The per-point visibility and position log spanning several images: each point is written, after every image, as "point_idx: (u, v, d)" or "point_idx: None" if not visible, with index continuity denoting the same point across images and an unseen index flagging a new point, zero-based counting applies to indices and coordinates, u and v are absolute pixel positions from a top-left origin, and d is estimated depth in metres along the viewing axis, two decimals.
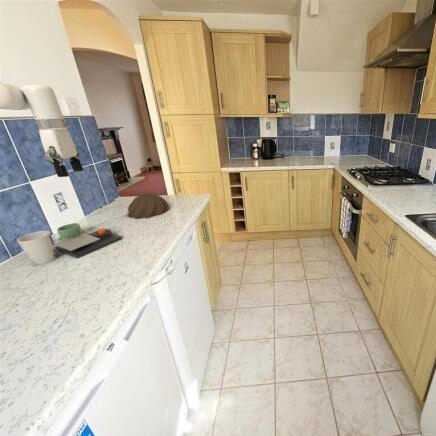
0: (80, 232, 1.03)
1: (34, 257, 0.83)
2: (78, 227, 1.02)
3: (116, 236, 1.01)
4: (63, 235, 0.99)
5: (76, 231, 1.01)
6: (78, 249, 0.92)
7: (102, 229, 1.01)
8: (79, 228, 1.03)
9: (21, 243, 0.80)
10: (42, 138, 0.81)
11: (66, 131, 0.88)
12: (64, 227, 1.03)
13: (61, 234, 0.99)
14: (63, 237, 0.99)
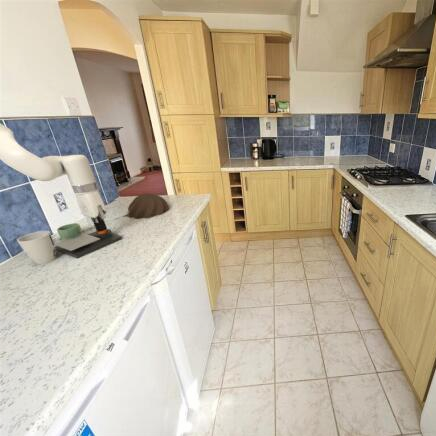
0: (80, 232, 1.03)
1: (34, 257, 0.83)
2: (78, 227, 1.02)
3: (116, 236, 1.01)
4: (63, 235, 0.99)
5: (76, 231, 1.01)
6: (78, 249, 0.92)
7: None
8: (79, 228, 1.03)
9: (21, 243, 0.80)
10: (91, 200, 0.92)
11: None
12: (64, 227, 1.03)
13: (61, 234, 0.99)
14: (63, 237, 0.99)
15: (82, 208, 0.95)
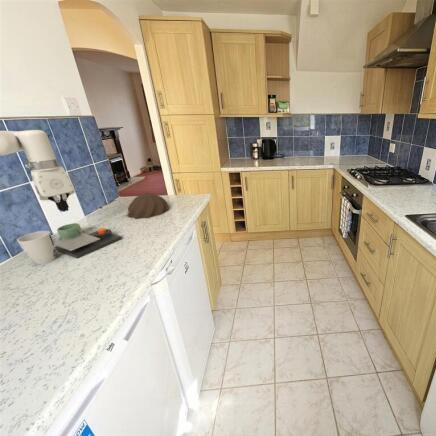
0: (80, 232, 1.03)
1: (34, 257, 0.83)
2: (78, 227, 1.02)
3: (116, 236, 1.01)
4: (63, 235, 0.99)
5: (76, 231, 1.01)
6: (78, 249, 0.92)
7: (102, 229, 1.01)
8: (79, 228, 1.03)
9: (21, 243, 0.80)
10: (66, 173, 0.96)
11: None
12: (64, 227, 1.03)
13: (61, 234, 0.99)
14: (63, 237, 0.99)
15: (51, 187, 0.91)
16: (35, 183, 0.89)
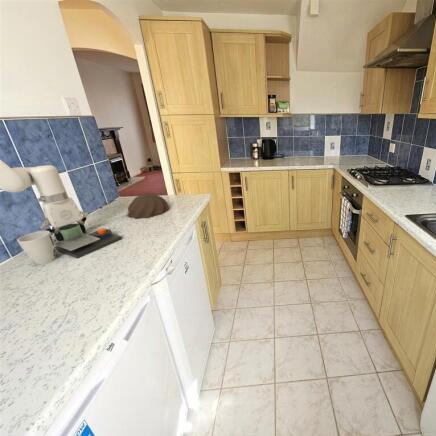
0: (80, 232, 1.03)
1: (34, 257, 0.83)
2: (78, 227, 1.02)
3: (116, 236, 1.01)
4: (63, 235, 0.99)
5: (76, 231, 1.01)
6: (78, 249, 0.92)
7: (102, 229, 1.01)
8: (79, 228, 1.03)
9: (21, 243, 0.80)
10: None
11: None
12: (64, 227, 1.03)
13: (61, 234, 0.99)
14: (63, 237, 0.99)
15: (61, 218, 0.96)
16: (46, 215, 0.94)
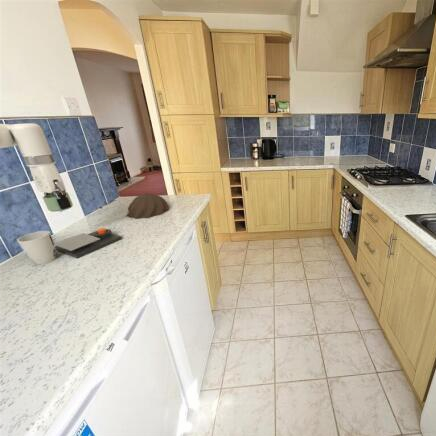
0: (52, 205, 0.90)
1: (34, 257, 0.83)
2: (48, 199, 0.89)
3: (116, 236, 1.01)
4: None
5: (46, 202, 0.89)
6: (78, 249, 0.92)
7: (102, 229, 1.01)
8: (51, 201, 0.89)
9: (21, 243, 0.80)
10: (45, 173, 0.85)
11: None
12: (66, 194, 0.95)
13: None
14: None
15: (37, 183, 0.88)
16: None
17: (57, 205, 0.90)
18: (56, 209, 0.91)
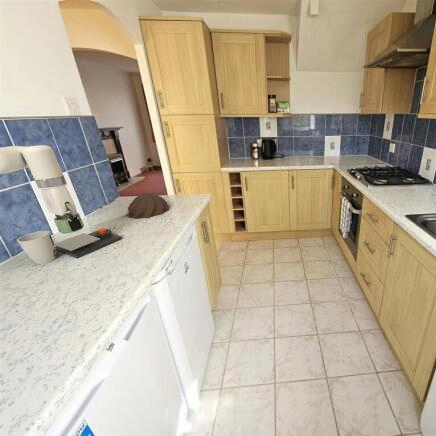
0: (63, 227, 0.88)
1: (34, 257, 0.83)
2: (59, 221, 0.87)
3: (116, 236, 1.01)
4: None
5: (57, 224, 0.87)
6: (78, 249, 0.92)
7: (102, 229, 1.01)
8: (62, 223, 0.87)
9: (21, 243, 0.80)
10: (57, 196, 0.83)
11: None
12: None
13: None
14: None
15: (48, 205, 0.86)
16: None
17: (68, 227, 0.88)
18: (67, 231, 0.89)
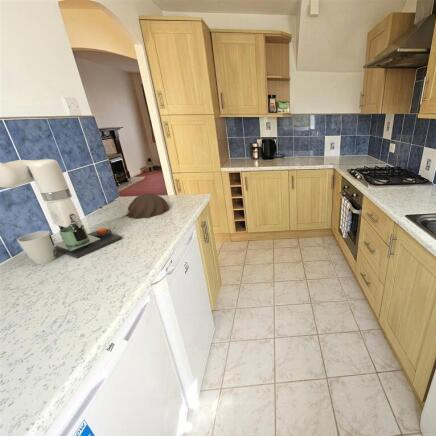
0: (68, 239, 0.90)
1: (34, 257, 0.83)
2: (65, 233, 0.88)
3: (116, 236, 1.01)
4: None
5: (63, 237, 0.89)
6: (78, 249, 0.92)
7: (102, 229, 1.01)
8: (68, 235, 0.89)
9: (21, 243, 0.80)
10: (62, 208, 0.85)
11: None
12: None
13: None
14: None
15: (53, 217, 0.88)
16: None
17: (73, 239, 0.90)
18: (72, 243, 0.91)
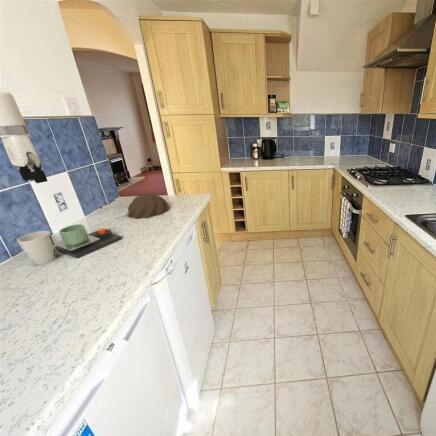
0: (68, 239, 0.90)
1: (34, 257, 0.83)
2: (65, 233, 0.88)
3: (116, 236, 1.01)
4: None
5: (63, 237, 0.89)
6: (78, 249, 0.92)
7: (102, 229, 1.01)
8: (68, 235, 0.89)
9: (21, 243, 0.80)
10: (17, 144, 0.80)
11: None
12: (81, 226, 0.95)
13: None
14: None
15: (10, 156, 0.84)
16: None
17: (73, 239, 0.90)
18: (72, 243, 0.91)
